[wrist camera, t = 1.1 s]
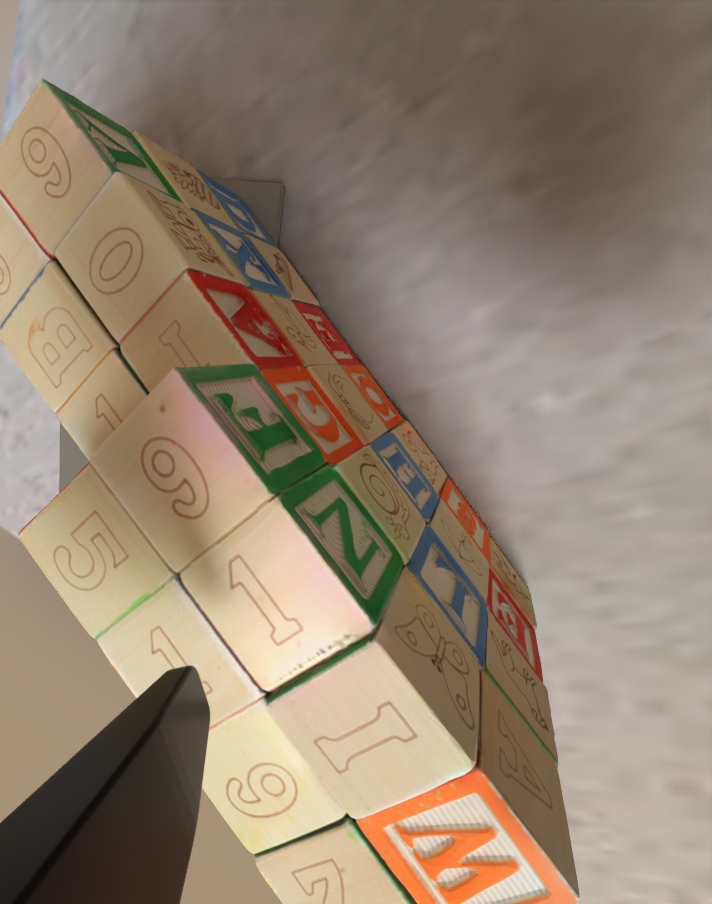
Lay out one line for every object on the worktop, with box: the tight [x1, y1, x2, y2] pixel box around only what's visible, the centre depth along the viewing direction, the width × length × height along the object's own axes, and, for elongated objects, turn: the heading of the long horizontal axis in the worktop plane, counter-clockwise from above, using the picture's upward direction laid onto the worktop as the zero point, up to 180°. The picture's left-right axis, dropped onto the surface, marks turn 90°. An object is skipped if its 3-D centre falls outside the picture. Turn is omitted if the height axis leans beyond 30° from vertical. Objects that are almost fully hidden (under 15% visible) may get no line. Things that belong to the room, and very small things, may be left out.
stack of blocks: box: [0, 79, 580, 904], centre depth 15 cm, size 21×6×12 cm, turn 38°
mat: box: [59, 178, 285, 493], centre depth 24 cm, size 12×18×1 cm, turn 170°
